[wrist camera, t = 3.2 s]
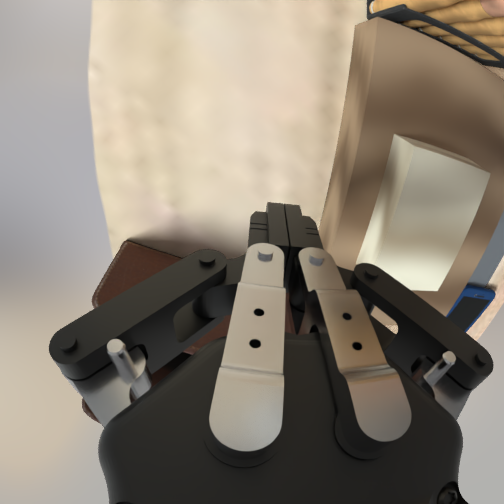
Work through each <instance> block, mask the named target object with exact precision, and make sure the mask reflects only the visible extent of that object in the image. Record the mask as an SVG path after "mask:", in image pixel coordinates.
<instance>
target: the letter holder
mask: <svg viewBox="0 0 504 504" xmlns="http://www.w3.org/2000/svg"><path fill="white" fill-rule="evenodd" d="M181 259H182V258H179V257H176V256H173V255H170V254H167V253H163V252H160V251H157V250H154V249H151V248H148V247H145V246H142V245H139V244H136V243H133V242H129V241H124V242H123V243H122V245H121V247H120V250H119V251H118V253H117V254H116V256H115V258H114V259H113V261H112V263H111V264H110V266H109V268H108V270H107V272H106V273H105V275H104V277H103V278H102V280H101V282H100V284H99V285H98V287H97V289H96V290H95V292H94V295H93V297H92V304H93V306H94V309H95V308H97V307H99V306H100V305H102V304H104V303H105V302H107V301H109V300H111V299H112V298H114V297H116V296H118V295H119V294H121V293H123V292H124V291H126V290H128V289H130V288H131V287H133V286H135V285H137V284H139V283H140V282H142V281H144V280H146V279H147V278H149V277H151V276H153V275H154V274H156V273H158V272H160V271H162V270H163V269H165V268H167V267H169V266H171V265H172V264H174V263H176V262H178V261H180V260H181ZM288 299H289V293H286V297H285V331H284V332H288V333H291V328H290V322H289V317H288V311H287V303H288ZM230 320H231V315H227V316H225V318H224V320H223V321H222V322H221V323H220V324H219V325H217V326H216V327H215V328H213V329H212V330H211V331H209V332H208V333H207V334H205V335H204V336H203V337H202V338H200V339H199V340H198V341H196V342H195V343H194V344H192V345H191V346H190V347H188V348H187V349H186V350H184V351H183V352H182V353H180V354H179V355H177V356H176V357H175V358H173V359H172V360H171V361H169V362H168V363H167V364H165V365H164V366H163V367H161V368H160V369H158V370H157V371H156V372H154V373H153V374H151V375H152V385H151V387H150V389H151V388H152V387H153V386H155V385H156V384H157V383H158V382H160V381H161V380H162V379H163V378H165V377H166V376H167V375H168V374H170V373H171V372H172V371H173V370H174V369H176V368H177V367H178V366H179V365H181V364H182V363H183V362H184V361H185V360H187V359H188V358H189V357H190V356H192V355H193V354H194V353H195V352H196V351H198V350H199V349H200V348H201V347H203V346H204V345H206V344H207V343H209V342H210V341H213V340H215V339H217V338H220V337H223V336H226V335H228V330H229V325H230ZM82 408H83V410H84V412H85V413H86V414H87V415H88V416H89V417H91V418H92V419H93V420H95V421H97V422H98V423H100V422H99V420H98V419H97V418H96V416H95V415H94V413H93V412H92V410H91V409H90V408H89V406H88V405H87V403H86V402H85V400H84V399H82ZM100 424H101V423H100Z"/></svg>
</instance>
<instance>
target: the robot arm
mask: <svg viewBox="0 0 504 504" xmlns="http://www.w3.org/2000/svg"><path fill="white" fill-rule="evenodd" d="M286 293H289V299H288V303H287V311H288V317H289V322H290V328H291V333H288V332H284V331H285V297H286ZM375 306H376V307H377V308H379V309H380V310H381V311H383V312H384V313H385V314H386V315H388V316H389V317H390V318H391V319H393V320H394V321H395V322H396V323H397V325H398V333H397V334H394V333H393V332H392V331H390V330H389V329H388V328H387V327H385V326H384V325H383V324H382V323H380V322H379V321H378V320H377V319H376V318H374V317H373V316H372V315H371V313H372V311H373V309H374V307H375ZM227 315H231V320H230V325H229V330H228V335H226V336H223V337H220V338H217V339H215V340H213V341H210V342H209V343H207V344H206V345H204V346H203V347H201V348H200V349H199V350H198V351H196V352H195V353H194V354H193V355H192V356H190V357H189V358H188V359H187V360H185V361H184V362H183V363H182V364H181V365H179V366H178V367H177V368H176V369H174V370H173V371H172V372H171V373H170V374H168V375H167V376H166V377H165V378H163V379H162V380H161V381H160V382H158V383H157V384H156V385H155V386H153V387H152V388H151V389H150V387H151V385H152V375H151V374H153V373H154V372H156V371H157V370H158V369H160V368H161V367H163V366H164V365H165V364H167V363H168V362H169V361H171V360H172V359H173V358H175V357H176V356H177V355H179V354H180V353H182V352H183V351H184V350H186V349H187V348H188V347H190V346H191V345H192V344H194V343H195V342H196V341H198V340H199V339H200V338H202V337H203V336H204V335H205V334H207V333H208V332H209V331H211V330H212V329H213V328H215V327H216V326H217V325H219V324H220V323H221V322H222V321H223V320H224V318H225V316H227ZM49 352H50V355H51V357H52V358H53V360H54V361H55V362H56V364H57V365H58V367H59V368H60V369H61V372H62V374H63V375H64V376H65V378H66V379H67V380H68V381H69V383H70V384H71V385H72V386H73V387H74V388H75V390H76V391H77V392H78V393H79V394H81V395H82V397H83V399H84V400H85V402H86V403H87V405H88V406H89V408H90V409H91V410H92V412H93V413H94V415H95V416H96V418H97V419H98V420H99V422H100V423H101V424H102V426H103V427H104V430H103V432H102V434H101V437H100V440H99V447H98V448H99V449H98V453H99V460H100V464H101V467H102V470H103V473H104V476H105V479H106V483H107V488H108V494H109V504H468V503H467V502H466V501H465V500H464V499H463V498H462V496H461V494H460V492H459V487H458V472H459V464H460V458H461V453H462V448H463V437H462V432H461V429H460V426H459V424H458V423H457V421H456V420H457V419H458V417H459V415H460V413H461V411H462V409H463V407H464V405H465V403H466V401H467V399H468V397H469V395H470V393H471V392H472V391H473V390H474V389H475V388H476V387H477V386H478V385H479V384H480V383H481V382H482V381H483V380H484V379H485V378H486V377H488V376H489V375H490V373H491V372H492V370H493V360H492V358H491V356H490V354H489V353H488V351H487V350H486V349H485V348H484V347H482V346H481V345H480V344H479V343H478V342H476V341H475V340H474V339H473V338H472V337H470V336H469V335H468V334H467V333H465V332H464V331H463V330H462V329H460V328H459V327H458V326H457V325H455V324H454V323H453V322H452V321H450V320H449V319H448V318H447V317H445V316H444V315H443V314H441V313H440V312H439V311H438V310H436V309H435V308H434V307H432V306H431V305H430V304H428V303H427V302H426V301H424V300H423V299H422V298H420V297H419V296H418V295H416V294H415V293H414V292H412V291H411V290H410V289H408V288H407V287H406V286H404V285H403V284H402V283H400V282H399V281H397V280H396V279H395V278H393V277H392V276H390V275H389V274H388V273H386V272H385V271H383V270H382V269H381V268H379V267H377V266H375V265H373V264H370V263H360V264H357V265H356V266H355V268H354V271H352V270H348V269H345V268H342V267H339V266H337V265H336V263H335V261H334V259H333V257H332V256H331V255H330V254H329V253H328V252H327V251H325V250H324V248H323V245H322V242H321V238H320V235H319V232H318V230H317V226H316V223H315V222H314V221H313V220H312V219H311V218H310V217H309V216H302V213H301V209H300V206H299V205H291V204H284V205H283V204H281V203H271V202H267V208H266V212H257V211H255V212H254V213H253V214H252V215H251V218H250V229H249V240H248V249H247V252H246V253H245V254H244V255H243V256H241V257H239V258H235V259H229V260H227V259H226V257H225V256H224V255H223V254H222V253H221V252H219V251H216V250H210V249H205V250H199V251H196V252H194V253H192V254H190V255H189V256H187V257H185V258H183V259H181V260H180V261H178V262H176V263H174V264H172V265H171V266H169V267H167V268H165V269H163V270H162V271H160V272H158V273H156V274H154V275H153V276H151V277H149V278H147V279H146V280H144V281H142V282H140V283H139V284H137V285H135V286H133V287H131V288H130V289H128V290H126V291H124V292H123V293H121V294H119V295H118V296H116V297H114V298H112V299H111V300H109V301H107V302H105V303H104V304H102V305H100V306H99V307H97V308H95V309H93V310H92V311H90V312H88V313H87V314H85V315H83V316H82V317H80V318H78V319H77V320H75V321H73V322H72V323H70V324H68V325H67V326H65V327H63V328H62V329H60V330H59V331H57V332H56V333H55V334H54V336H53V337H52V339H51V341H50V344H49Z"/></svg>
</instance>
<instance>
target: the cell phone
mask: <svg viewBox="0 0 504 504" xmlns="http://www.w3.org/2000/svg"><path fill="white" fill-rule="evenodd" d="M495 295H496V294H495V292H494V291H493V290H491V289H487V288H482V287H477V286H472V285H466V286H465V288H464V289H463V291H462V292H461V294H460V296H459V297H458V299H457V300H456V302H455V304H454V305H453V307H452V308H451V310H450V311H449V313H448V314H447V315H446V317H447V318H448V319H449V320H450V321H452V322H453V323H454V324H455V325H457V326H458V327H459V328H460V329H462V330H463V331H464V332H465V333H466V332H467V331H468V330H469V328H470V327H471V326H472V325H473V324H474V323H475V322H476V320H477V319H478V318H479V317H480V316H481V314H482V313H483V312H484V311H485V309H486V308H487V307H488V306H489V304H490V303H491V302H492V301H493V299H494V298H495Z"/></svg>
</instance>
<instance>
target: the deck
mask: <svg viewBox="0 0 504 504" xmlns="http://www.w3.org/2000/svg"><path fill="white" fill-rule="evenodd" d="M394 134H397V135H401V136H404V137H408V138H411V139H414V140H418V141H421V142H424V143H427V144H430V145H433V146H436V147H439V148H442V149H445V150H447V151H450V152H453V153H456V154H458V155H461V156H463V157H466V158H468V159H470V160H471V161H473V162H475V163H476V164H478V165H479V166H480V167H482V168H483V169H485V170H486V171H488V172H489V173H491V174H490V177H489V180H488V183H487V186H486V189H485V192H484V194H483V197H482V200H481V202H480V205H479V207H478V210H477V212H476V215H475V217H474V219H473V222H472V224H471V226H470V229H469V231H468V233H467V235H466V237H465V240H464V242H463V244H462V246H461V248H460V250H459V252H458V254H457V256H456V258H455V260H454V262H453V264H452V266H451V268H450V270H449V271H448V273H447V275H446V277H445V279H444V280H443V282H442V284H441V286H440V287H439V289H438V291H420V290H411V291H412V292H414V293H415V294H416V295H418V296H419V297H420V298H422V299H423V300H424V301H426V302H427V303H428V304H430V305H431V306H432V307H434V308H435V309H436V310H438V311H439V312H440V313H441V314H443V315H444V316H445V317H446V315H447V314H448V313H449V311H450V310H451V308H452V307H453V305H454V304H455V302H456V300H457V299H458V297H459V296H460V294H461V292H462V291H463V289H464V288H465V286H466V284H467V283H468V281H469V279H470V277H471V276H472V274H473V272H474V270H475V269H476V267H477V265H478V263H479V261H480V259H481V258H482V256H483V254H484V252H485V250H486V248H487V246H488V244H489V242H490V240H491V238H492V236H493V233H494V231H495V229H496V227H497V225H498V222H499V220H500V218H501V215H502V213H503V211H504V80H503V79H501V78H500V77H498V76H497V75H495V74H494V73H492V72H491V71H489V70H488V69H486V68H485V67H483V66H482V65H480V64H479V63H477V62H475V61H474V60H472V59H470V58H469V57H467V56H465V55H463V54H462V53H460V52H458V51H456V50H454V49H452V48H451V47H449V46H447V45H445V44H443V43H441V42H439V41H437V40H435V39H432V38H430V37H428V36H426V35H424V34H422V33H419V32H417V31H415V30H412V29H410V28H407V27H405V26H402V25H400V24H397V23H394V22H392V21H389V20H386V19H383V18H380V17H376V18H373V19H370V20H368V21H365V22H363V23H360V24H358V25H356V26H355V31H354V40H353V48H352V56H351V64H350V71H349V78H348V85H347V92H346V98H345V104H344V110H343V116H342V122H341V127H340V133H339V138H338V144H337V149H336V154H335V159H334V164H333V169H332V174H331V179H330V183H329V188H328V193H327V197H326V202H325V206H324V210H323V215H322V219H321V223H320V227H319V231H318V232H319V235H320V238H321V242H322V245H323V248H324V250H325V251H327V252H328V253H329V254H330V255H331V256H332V257H333V259H334V261H335V263H336V265H337V266H339V267H342V268H345V269H348V270H352V271H354V268H355V266H356V265H357V264H356V261H357V258H358V256H359V253H360V250H361V247H362V244H363V241H364V238H365V235H366V232H367V229H368V226H369V223H370V220H371V217H372V214H373V211H374V207H375V204H376V201H377V197H378V194H379V191H380V187H381V184H382V180H383V176H384V173H385V169H386V165H387V161H388V157H389V153H390V149H391V145H392V141H393V136H394ZM371 315H372V316H373V317H374V318H376V319H377V320H378V321H379V322H380V323H382V324H383V325H397V323H396V322H395V321H394V320H393V319H391V318H390V317H389V316H388V315H386V314H385V313H384V312H383V311H381V310H380V309H379V308H377V307H376V306H375V307H374V309H373V311H372V313H371Z"/></svg>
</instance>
